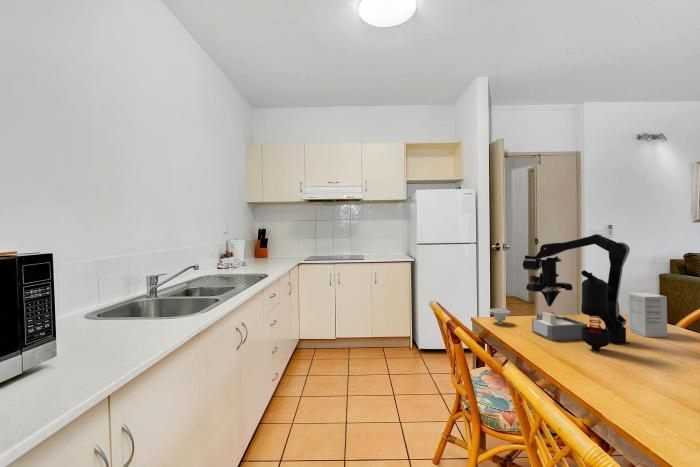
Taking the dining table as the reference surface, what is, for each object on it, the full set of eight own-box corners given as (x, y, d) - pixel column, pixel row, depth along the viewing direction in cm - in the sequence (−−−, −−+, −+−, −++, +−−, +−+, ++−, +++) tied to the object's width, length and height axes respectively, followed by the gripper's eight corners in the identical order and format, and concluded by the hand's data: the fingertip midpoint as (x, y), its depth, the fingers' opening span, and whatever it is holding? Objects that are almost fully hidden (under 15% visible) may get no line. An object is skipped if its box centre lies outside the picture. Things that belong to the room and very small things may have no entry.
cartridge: (576, 334, 143) (576, 315, 143) (547, 336, 142) (547, 316, 142) (561, 328, 152) (561, 310, 152) (533, 330, 150) (533, 311, 150)
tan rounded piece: (556, 322, 154) (556, 313, 154) (548, 323, 153) (548, 313, 153) (550, 320, 158) (550, 311, 158) (541, 320, 158) (541, 311, 158)
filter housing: (587, 338, 142) (587, 324, 142) (551, 340, 140) (551, 326, 140) (555, 326, 160) (555, 313, 160) (523, 328, 158) (523, 315, 158)
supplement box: (668, 337, 143) (668, 296, 143) (645, 337, 143) (645, 296, 143) (648, 330, 153) (648, 292, 152) (627, 330, 153) (627, 292, 153)
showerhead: (516, 309, 164) (500, 311, 160) (516, 324, 164) (500, 327, 160) (499, 305, 173) (484, 307, 168) (499, 320, 173) (485, 322, 168)
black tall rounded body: (594, 355, 124) (594, 271, 123) (572, 347, 133) (572, 269, 132) (625, 352, 126) (625, 270, 126) (602, 344, 135) (602, 267, 135)
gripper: (555, 268, 165) (555, 301, 165) (518, 270, 162) (519, 303, 162) (573, 271, 154) (573, 306, 154) (534, 272, 151) (534, 308, 151)
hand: (549, 306), depth 156 cm, fingers closed
